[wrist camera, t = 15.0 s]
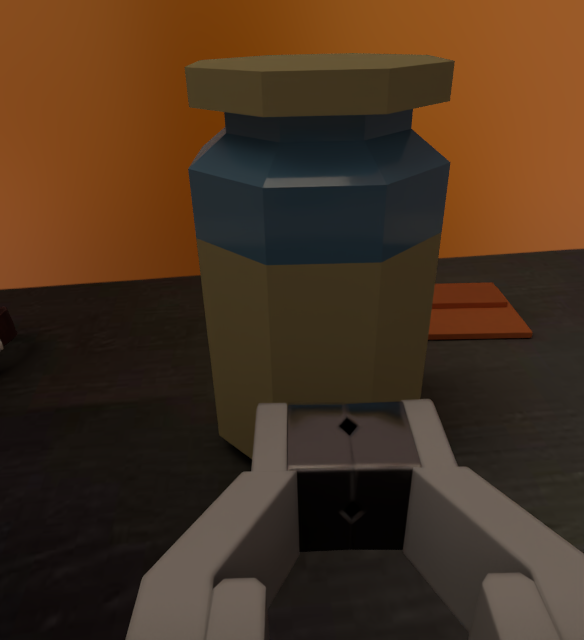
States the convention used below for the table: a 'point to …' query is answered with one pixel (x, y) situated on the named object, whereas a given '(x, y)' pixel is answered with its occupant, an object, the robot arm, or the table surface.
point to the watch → (6, 327)
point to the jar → (316, 228)
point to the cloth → (473, 313)
